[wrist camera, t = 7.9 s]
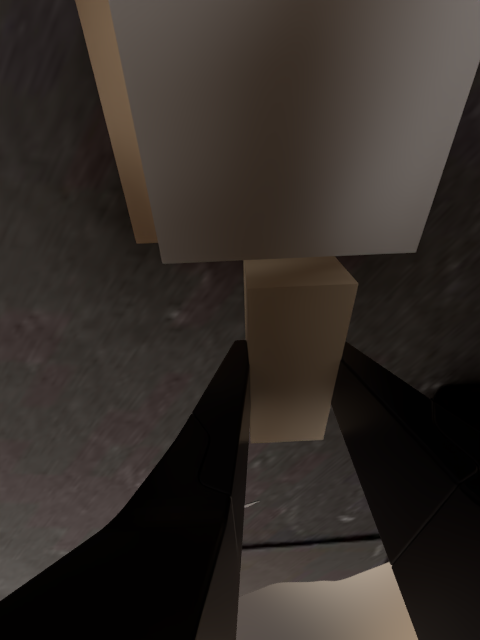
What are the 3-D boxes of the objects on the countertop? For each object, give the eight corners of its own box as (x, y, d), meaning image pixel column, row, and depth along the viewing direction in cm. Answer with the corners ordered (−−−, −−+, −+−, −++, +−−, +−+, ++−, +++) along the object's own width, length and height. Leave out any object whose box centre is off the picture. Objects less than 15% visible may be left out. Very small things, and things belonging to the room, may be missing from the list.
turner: (474, -5, 5) (624, -92, 3) (359, 382, 12) (387, 436, 10) (121, 8, 5) (54, -69, 3) (193, 390, 12) (185, 446, 9)
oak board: (541, -523, 7) (612, -672, 5) (371, 224, 17) (383, 232, 16) (-30, -506, 7) (-89, -654, 5) (143, 235, 17) (136, 243, 15)
